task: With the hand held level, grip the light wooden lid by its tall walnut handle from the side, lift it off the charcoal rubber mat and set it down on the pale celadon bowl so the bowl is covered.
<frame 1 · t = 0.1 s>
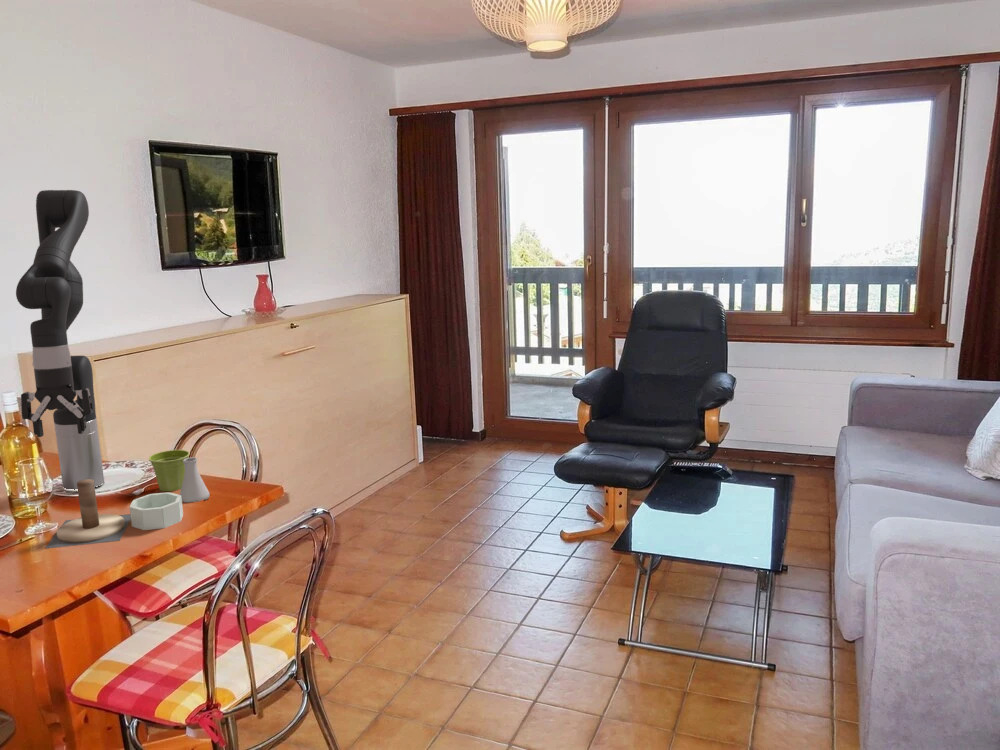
hand: (60, 434, 180), 17 cm above the table, tool pointing down, fingers open, 8 cm apart
plant pot: (172, 489, 194), on the table
lid: (91, 530, 168), resting on mat
bowl: (158, 522, 173), on the table
flask: (194, 499, 187), on the table
mat: (91, 532, 168), on the table
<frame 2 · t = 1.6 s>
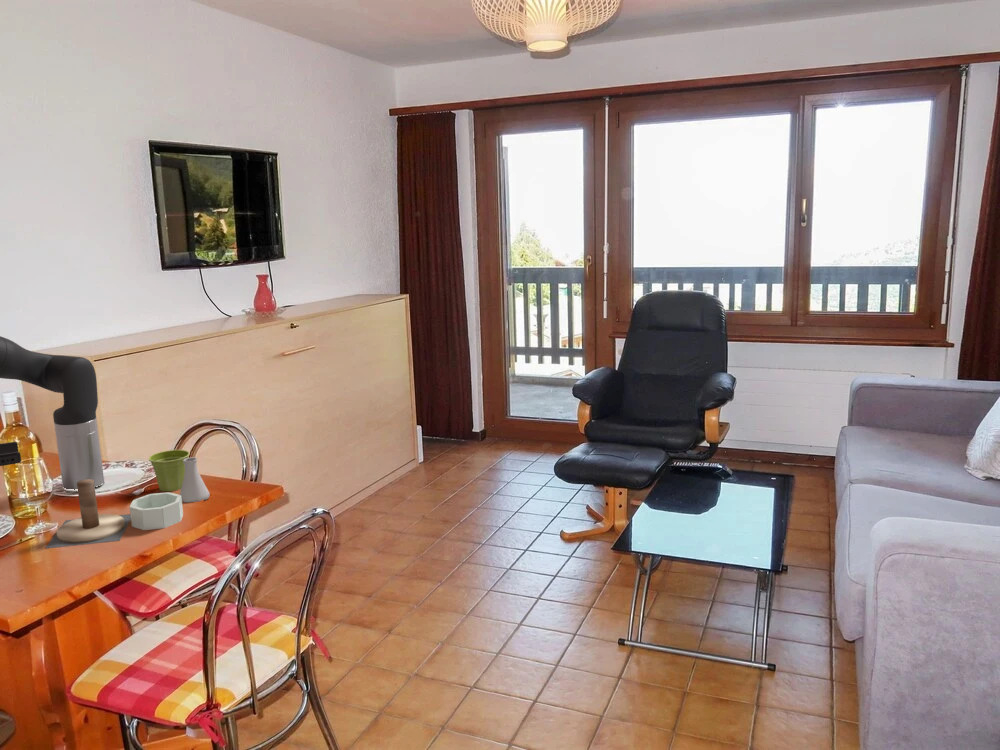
hand: (19, 451, 157), 20 cm above the table, tool horizontal, fingers open, 8 cm apart
nothing on the table moved.
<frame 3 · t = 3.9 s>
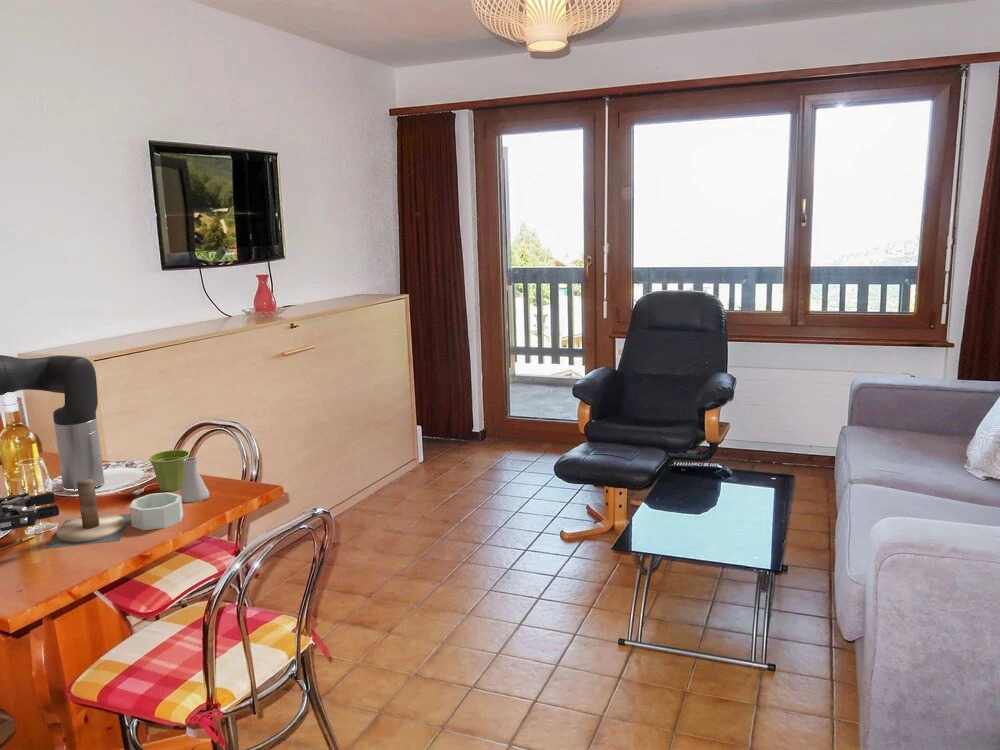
hand: (56, 503, 163), 8 cm above the table, tool horizontal, fingers open, 8 cm apart
nothing on the table moved.
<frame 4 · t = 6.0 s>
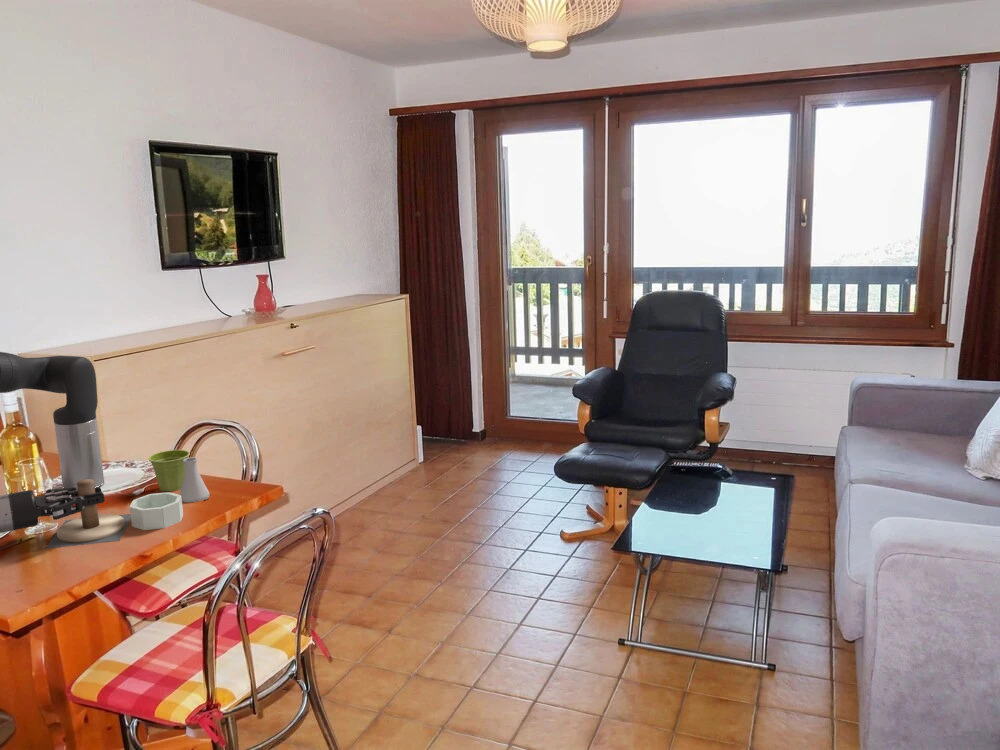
hand: (102, 494, 168), 8 cm above the table, tool horizontal, fingers closed on lid, 3 cm apart
lid: (91, 530, 168), resting on mat, touching gripper
everything else where it was.
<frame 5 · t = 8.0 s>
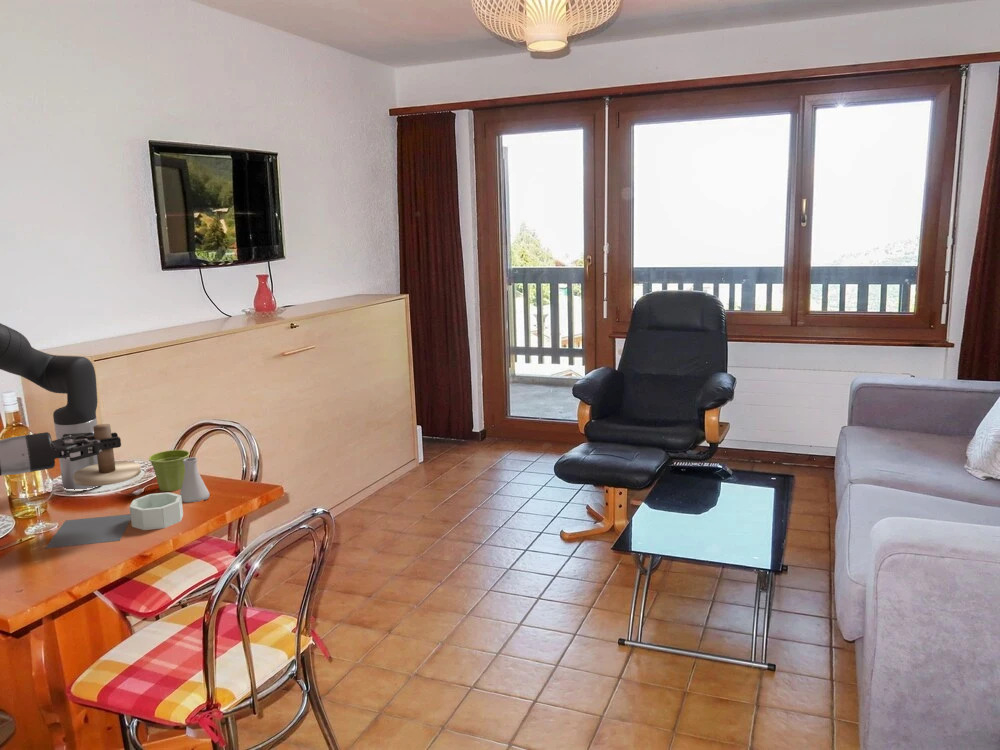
hand: (118, 439, 167), 20 cm above the table, tool horizontal, fingers closed on lid, 3 cm apart
lid: (107, 475, 167), point 12 cm above the table, touching gripper
everything else where it was.
when the fingers open (14 cm above the table, at t = 10.0 s): lid drops 1 cm, resting on bowl.
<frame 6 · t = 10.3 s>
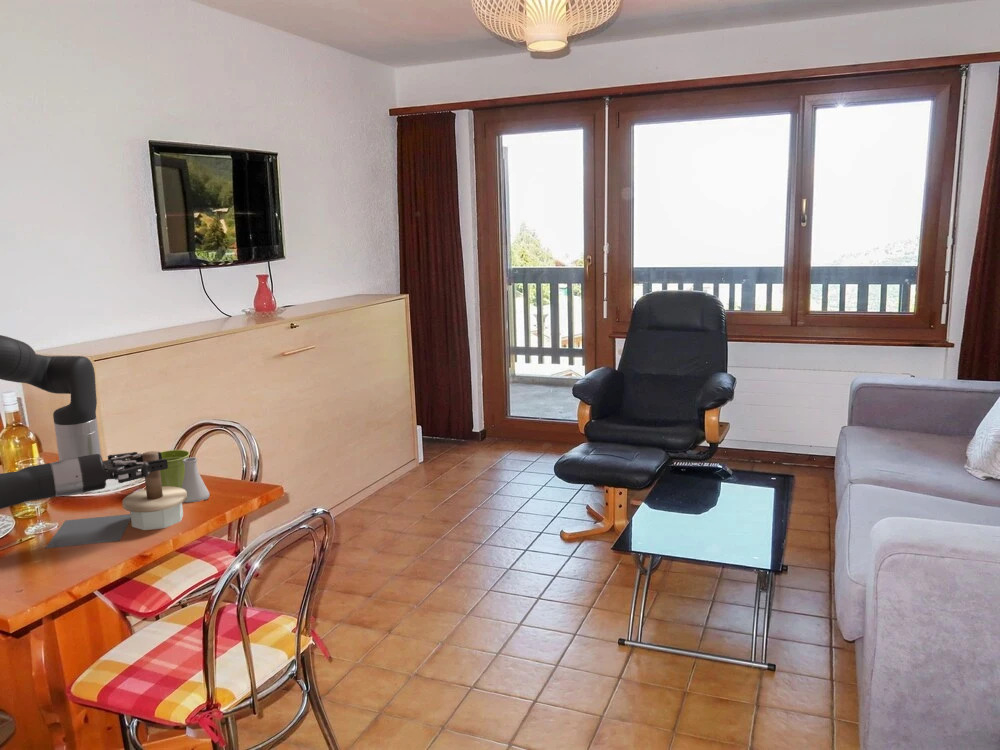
hand: (163, 459, 171), 14 cm above the table, tool horizontal, fingers open, 5 cm apart
lid: (155, 501, 172), point 5 cm above the table, touching bowl
everything else where it was.
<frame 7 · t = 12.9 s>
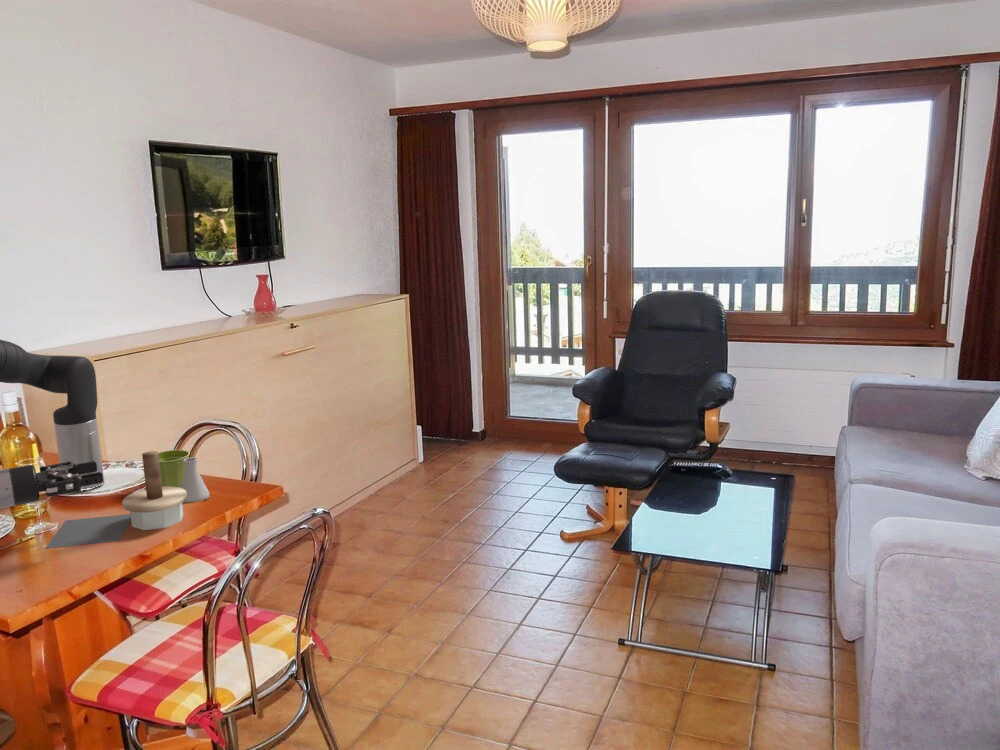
hand: (99, 471, 164), 14 cm above the table, tool horizontal, fingers open, 8 cm apart
nothing on the table moved.
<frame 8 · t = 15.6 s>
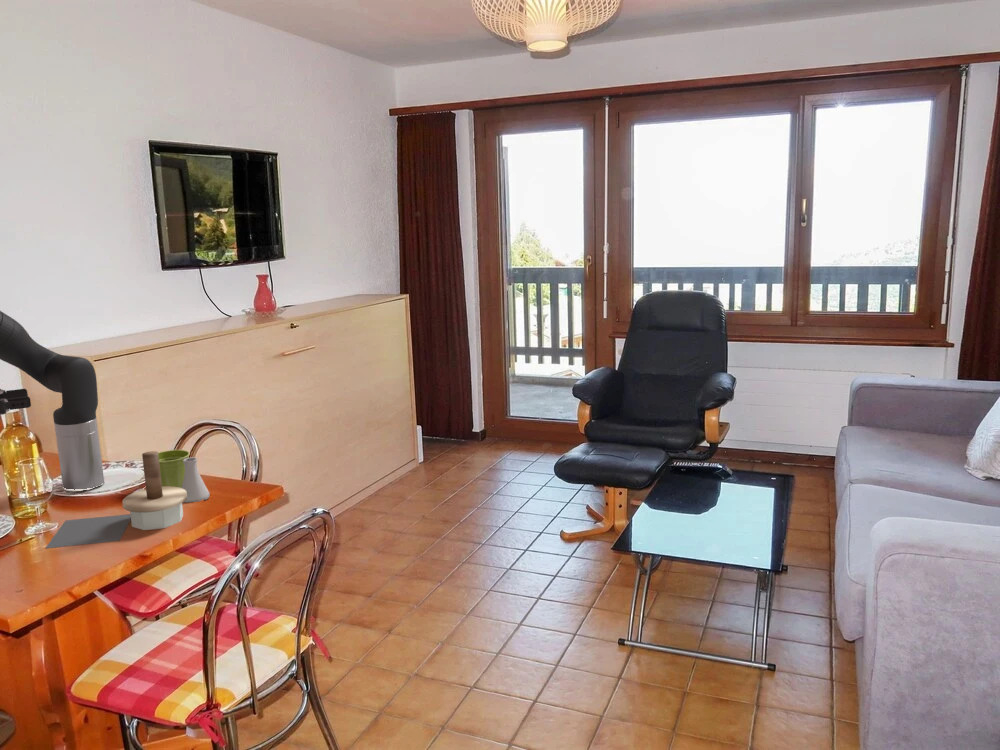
hand: (28, 397, 162), 30 cm above the table, tool horizontal, fingers open, 8 cm apart
nothing on the table moved.
at the end: lid 0.1 cm from the bowl (horizontally); lid point 5.0 cm above the table; lid tilted 0° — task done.
